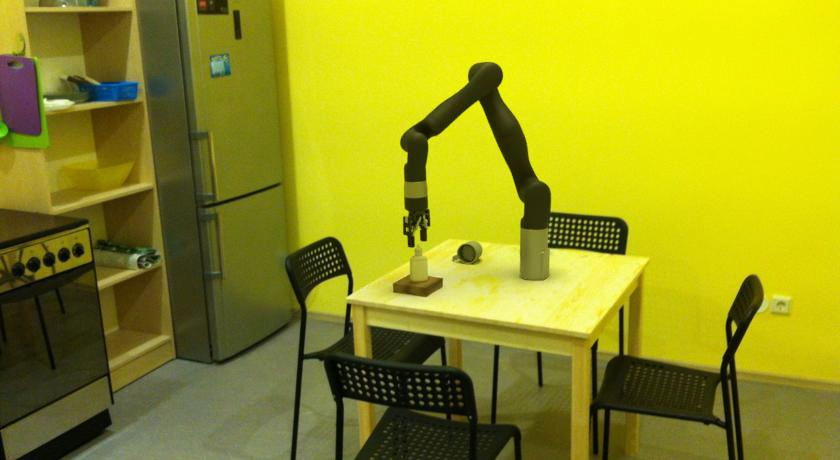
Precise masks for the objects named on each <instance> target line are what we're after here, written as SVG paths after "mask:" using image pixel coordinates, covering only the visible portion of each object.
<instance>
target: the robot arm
mask: <svg viewBox="0 0 840 460" xmlns="http://www.w3.org/2000/svg"><path fill="white" fill-rule="evenodd" d="M467 80H468V82H467V83H466V84H465V85H464V86H463V87H462V88H461V89H459V90H458V91H457V92H455V93H454V94H452V95H451V96H449V97H448V98H446V99H445V100H443V101H442V102H441V103H440V104H438V105H437V106H436V107H435V108H433V109H432V110H431V111H430V112H429V113H428V114H427V115H426V116H425V117H424V118H423V119H421V120H420V121H417V123H415V124H413V125H412V126H411V127H409V128H408V129H406V131H405V132H404V133H403V134H402V136H401V137H400V139H399V144H400V147H401V149H402V150H403V151H404V152H406V153H407V157H406V158H407V159H406V160H407V161H406V163H405V164H404V166H403V178H404V179H403V180H404V182H403V203H404V204H403V205H404V210H405V211H407V212H408V214H407V216H406V215H404V216H403V217H402V234H403V236H407V238H406V239H407V248H411V249H413V248H414V249H415V248H416V242H415V241H416V239H415V238H416V237H415V234H416V231H417V230H419V229H420V230H419V241H420V242H423V243H424V242H427V241H428V230H429V227H431V212H430V209H429V198H428V197H429V193H428V192H429V191H428V181H427V162H428V157H429V142H428V141H429V140H430V139H432V138H434V137H438V136H439V135H440V134H442V133H443V132H444V131H445V130H446V129H447V128H448V127H450V125H451V124H453V123H454V122H455V121H456V120H457V119H458V118H459V117H460V116H461V115H462V114H463V113H465V112H466V111H467V110H468V109H469V108H471V107H472V106H473V105H475V104H476V103H477V102H479V104H480V106H481V108H482V111H483V112H484V115H485V117H486V120H487V123H488V125H489V127H490V129H491V132H492V134H493V137H494V139H495V143H496V144H497V147H498V149H499V151H500V153H501V156H502V158H503V159H504V162H505V164H506V165H507V168H508V169H509V171H510V174H511V178H512V180H513V182H514V186H515V189H516V193H517V196H518V198H519V200H520V201H521V202H522V203H523V216H522V217H521V219H520V225H519V230H520V231H519V234H520V235H519V276H520V278H521V279H524V280H530V281H544V280H545V279H547V278H548V277H549V276H550V258H551V257H550V255H551V253H550V252H551V251H550V248H548V247H549V245H548V244H549V242H548V241H549V221H550V220H551V209H552V191H551V188H550V186H549V185H548V183H546V182H544V181H542V180H540V179H539V178H538V176H537V174H536V173H535V171H534V168H533V167H532V164H531V161H530V157H529V156H530V155H529V149H528V148H529V147H528V143H527V139H526V136H525V133H524V131H523V128H522V126H521V123H520V122H519V120H518V118H517V117H516V116H515V113H513V111H512V110H511V109H510V108H509V106H508V105H507V104H506V103H505V101H504V99H503V98H502V96H501V93H500V91H499V87H500V86H501V84H502V83H503V80H504V71H503V69H502V67H501V66H500V64H497V63H496V62H493V61H482V62H476V63H474V64H473V65H471V66H470V68H469V69H468V72H467ZM418 228H419V229H418Z"/></svg>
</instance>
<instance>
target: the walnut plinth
mask: <svg viewBox="0 0 840 460" xmlns="http://www.w3.org/2000/svg"><path fill="white" fill-rule="evenodd" d="M443 287H444V278H443V277H439V276H431V275H430V276H429V275H428V280H427V281H423V282H412V281H411V280H410V273H409V274H407V275H406V276H404V277H402V278H400V279H397V280H396V281H395V282H393V283H392V293H394V294H395V293H396V294H403V295H409V296H416V297H417V296H418V297H424V298H427V297H428V296H430V295H432V294H433V293H435V292H436V291H439V290H440V289H442V288H443Z"/></svg>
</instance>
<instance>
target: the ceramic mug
mask: <svg viewBox="0 0 840 460" xmlns="http://www.w3.org/2000/svg"><path fill="white" fill-rule="evenodd" d="M483 252H484V251H483V247H482V245H481V243H480V242H478V241H476V240H469V241H467V242H465V243H462V244H460V245H459V246H458V247H457V250H456V254H455V255H453V256H451V258H452V261H457V260H458V261H460V262H461V263H462V264H464V265H471V264H473V263H474V262H476V261H477V260H479V259H480V258H481V256H482V255H483Z"/></svg>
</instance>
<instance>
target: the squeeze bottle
mask: <svg viewBox="0 0 840 460" xmlns="http://www.w3.org/2000/svg"><path fill="white" fill-rule="evenodd" d="M428 270H429V268H428V257H427V256H426V255H423V248H421V246H420V244H417V245H416V247H414V255H413V256H411V257H410V258H409V274H410V280H411V281H412V282H423V281H427V280H428V276H429V271H428Z"/></svg>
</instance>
